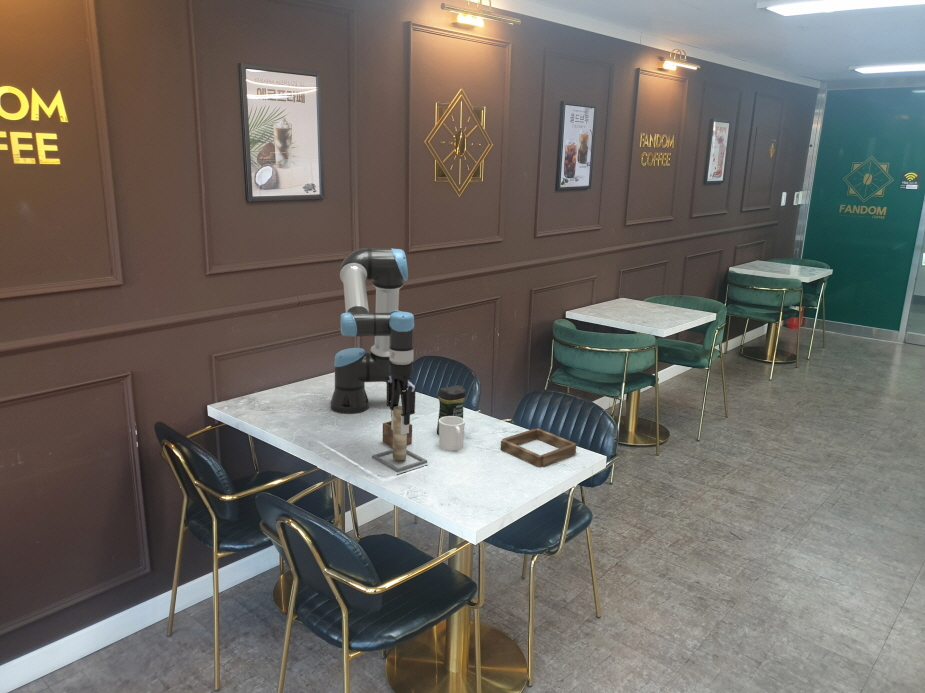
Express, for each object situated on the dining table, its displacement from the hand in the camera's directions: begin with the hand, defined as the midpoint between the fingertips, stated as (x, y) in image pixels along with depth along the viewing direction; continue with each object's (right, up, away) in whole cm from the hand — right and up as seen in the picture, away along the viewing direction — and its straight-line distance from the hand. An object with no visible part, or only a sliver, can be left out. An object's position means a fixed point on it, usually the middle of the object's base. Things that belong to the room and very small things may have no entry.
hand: (400, 430), depth 227 cm
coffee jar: (+16, -5, +28) cm, 32 cm away
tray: (0, -11, +3) cm, 11 cm away
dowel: (0, -9, +2) cm, 9 cm away
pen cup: (-2, -7, +17) cm, 18 cm away
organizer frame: (+46, -9, +17) cm, 50 cm away
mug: (+17, -9, +15) cm, 24 cm away
